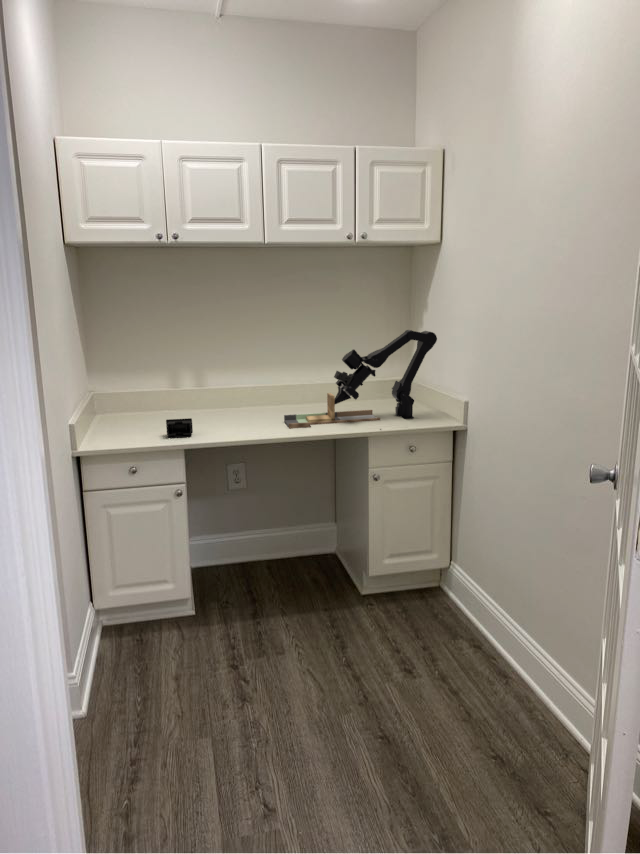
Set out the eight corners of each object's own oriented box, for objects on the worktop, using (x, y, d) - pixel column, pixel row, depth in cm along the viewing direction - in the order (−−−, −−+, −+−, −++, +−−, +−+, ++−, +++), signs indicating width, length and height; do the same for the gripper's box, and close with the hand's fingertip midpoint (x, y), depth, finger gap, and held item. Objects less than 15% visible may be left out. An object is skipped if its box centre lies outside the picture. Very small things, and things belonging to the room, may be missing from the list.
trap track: (371, 416, 292) (371, 409, 291) (379, 421, 281) (379, 414, 280) (284, 421, 284) (284, 415, 283) (288, 427, 273) (288, 420, 272)
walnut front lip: (379, 421, 281) (379, 417, 281) (380, 422, 280) (380, 418, 279) (288, 427, 273) (288, 423, 273) (289, 428, 272) (289, 424, 271)
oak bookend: (331, 418, 285) (330, 392, 282) (334, 421, 278) (334, 395, 276) (305, 419, 283) (305, 394, 280) (309, 423, 276) (308, 397, 273)
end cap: (192, 433, 267) (191, 416, 266) (192, 437, 260) (191, 420, 259) (167, 434, 266) (166, 418, 264) (166, 438, 259) (165, 422, 257)
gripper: (340, 361, 286) (315, 387, 286) (351, 367, 268) (325, 395, 269) (357, 378, 290) (333, 404, 290) (369, 385, 272) (343, 413, 272)
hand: (333, 403), depth 280 cm, fingers closed
